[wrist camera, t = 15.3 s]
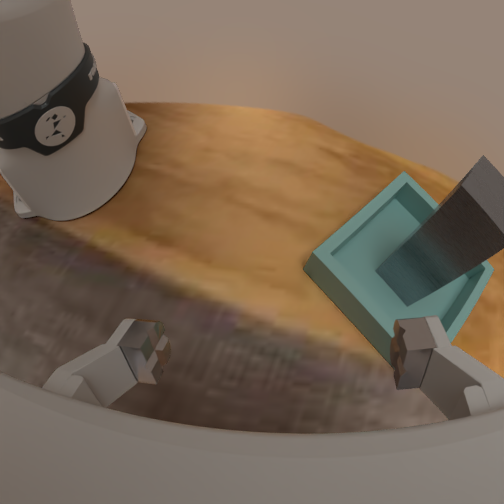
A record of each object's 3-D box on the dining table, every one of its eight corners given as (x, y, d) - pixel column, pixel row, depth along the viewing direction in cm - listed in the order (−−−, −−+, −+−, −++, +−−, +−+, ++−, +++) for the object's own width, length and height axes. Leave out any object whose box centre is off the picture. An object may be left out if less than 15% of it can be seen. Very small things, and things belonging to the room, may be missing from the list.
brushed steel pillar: (374, 270, 28) (461, 185, 15) (401, 242, 29) (483, 155, 16) (407, 306, 26) (510, 243, 14) (431, 275, 28) (526, 204, 15)
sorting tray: (302, 269, 29) (312, 251, 25) (389, 192, 33) (404, 171, 29) (403, 379, 25) (426, 377, 21) (472, 282, 29) (494, 269, 25)
